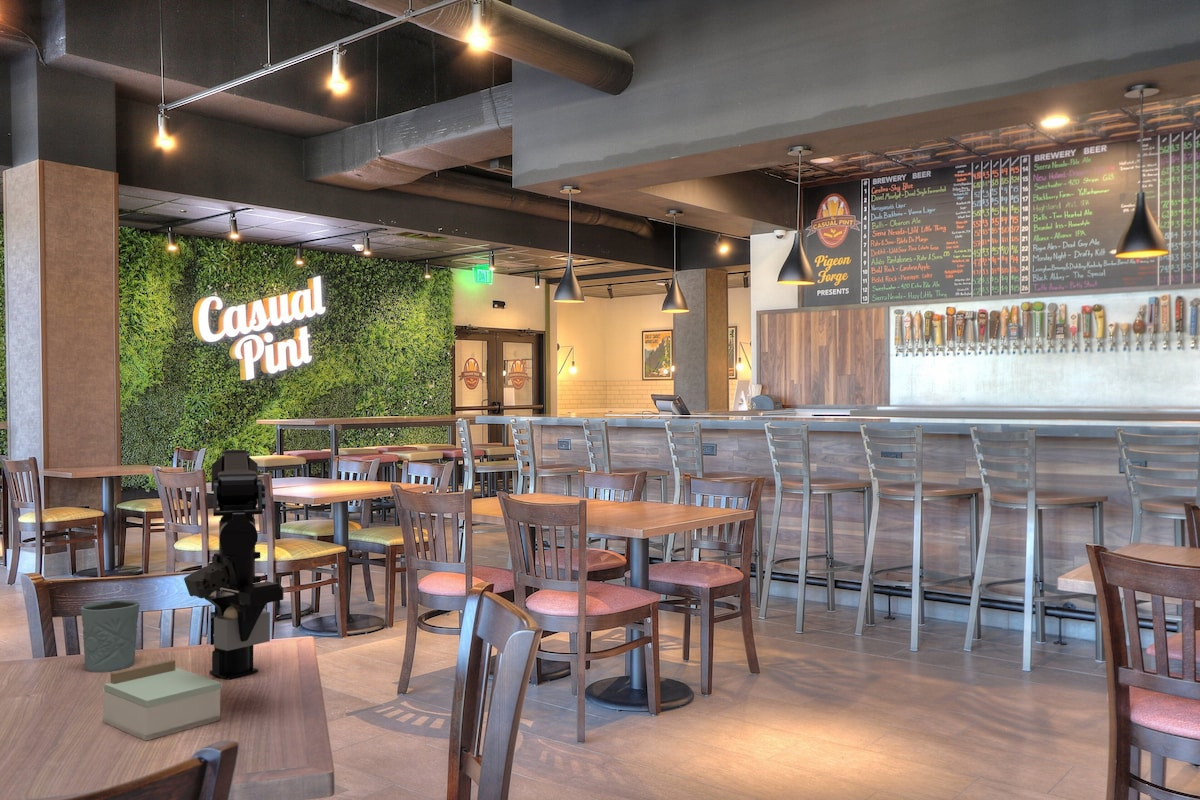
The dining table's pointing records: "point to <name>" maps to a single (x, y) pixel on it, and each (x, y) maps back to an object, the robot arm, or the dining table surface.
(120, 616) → the grey-green cup
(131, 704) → the box
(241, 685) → the dining table surface
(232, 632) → the tape dispenser
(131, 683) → the lid
